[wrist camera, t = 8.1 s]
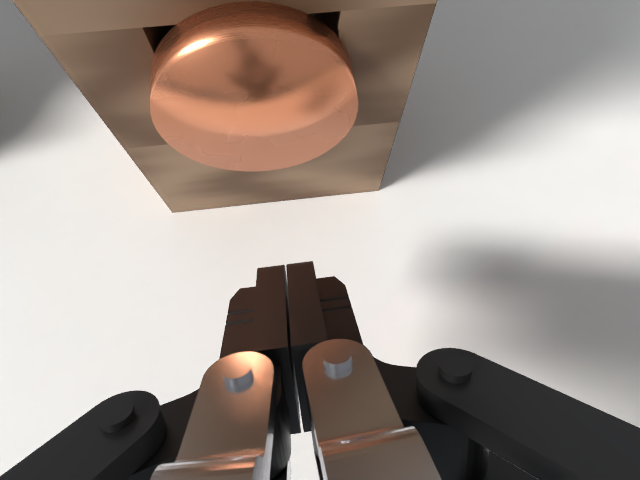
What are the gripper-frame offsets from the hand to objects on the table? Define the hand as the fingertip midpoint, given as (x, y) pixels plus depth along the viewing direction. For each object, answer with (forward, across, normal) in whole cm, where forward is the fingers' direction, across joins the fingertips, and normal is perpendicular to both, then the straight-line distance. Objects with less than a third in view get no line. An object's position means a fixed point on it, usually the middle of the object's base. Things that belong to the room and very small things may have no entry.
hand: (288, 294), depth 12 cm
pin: (+10, 0, -7) cm, 12 cm away
